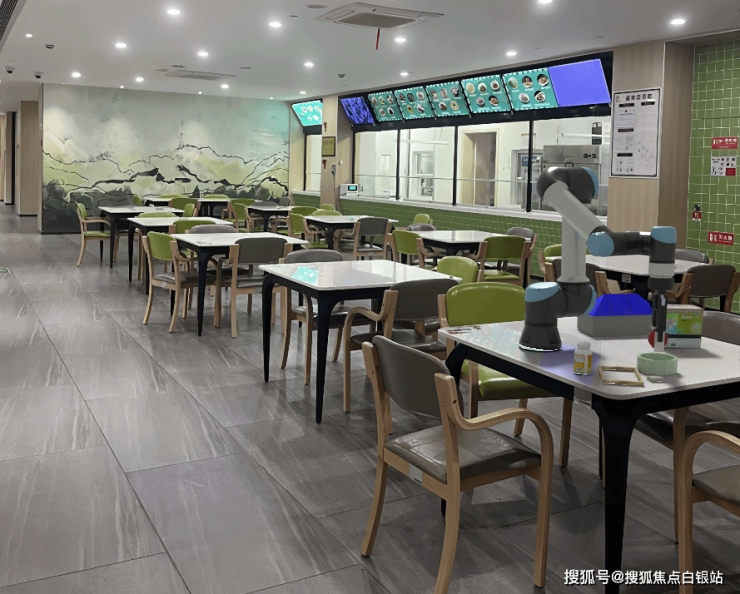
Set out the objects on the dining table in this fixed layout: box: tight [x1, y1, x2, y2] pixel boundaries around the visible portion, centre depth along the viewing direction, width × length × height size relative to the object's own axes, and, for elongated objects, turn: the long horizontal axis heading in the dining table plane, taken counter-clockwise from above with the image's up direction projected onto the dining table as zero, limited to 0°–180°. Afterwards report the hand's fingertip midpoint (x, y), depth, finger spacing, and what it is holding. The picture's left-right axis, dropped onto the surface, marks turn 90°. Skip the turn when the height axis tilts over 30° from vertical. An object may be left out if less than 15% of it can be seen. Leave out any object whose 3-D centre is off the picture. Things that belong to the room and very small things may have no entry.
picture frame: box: [597, 365, 645, 387], centre depth 221 cm, size 12×19×1 cm, turn 166°
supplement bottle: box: [573, 341, 593, 375], centre depth 225 cm, size 5×5×10 cm
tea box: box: [651, 303, 705, 349], centre depth 264 cm, size 15×10×15 cm, turn 88°
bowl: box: [636, 352, 679, 376], centre depth 228 cm, size 12×12×4 cm
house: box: [576, 293, 652, 337], centre depth 291 cm, size 25×16×16 cm, turn 96°
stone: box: [646, 375, 666, 383], centre depth 217 cm, size 4×3×2 cm
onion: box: [647, 330, 668, 349], centre depth 227 cm, size 6×6×8 cm
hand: (657, 349), depth 228 cm, fingers closed on onion, 6 cm apart
